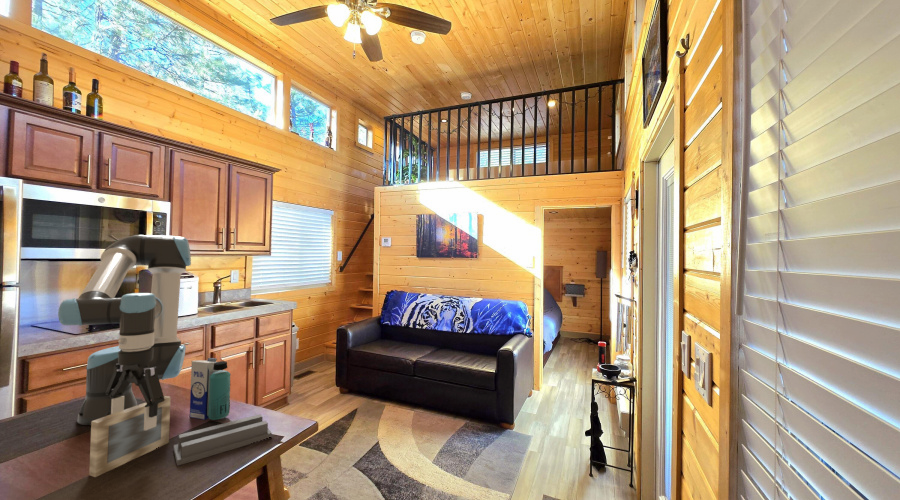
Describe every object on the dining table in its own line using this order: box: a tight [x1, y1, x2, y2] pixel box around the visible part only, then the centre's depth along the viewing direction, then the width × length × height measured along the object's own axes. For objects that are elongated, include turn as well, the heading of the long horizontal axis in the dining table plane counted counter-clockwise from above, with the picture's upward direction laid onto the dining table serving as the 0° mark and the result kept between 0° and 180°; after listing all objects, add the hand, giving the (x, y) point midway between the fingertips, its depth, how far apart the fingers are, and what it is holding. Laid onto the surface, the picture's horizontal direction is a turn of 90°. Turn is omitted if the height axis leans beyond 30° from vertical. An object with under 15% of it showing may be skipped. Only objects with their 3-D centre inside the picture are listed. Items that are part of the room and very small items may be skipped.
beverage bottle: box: [208, 360, 232, 420], centre depth 125 cm, size 6×7×20 cm
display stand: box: [173, 413, 272, 467], centre depth 110 cm, size 24×10×4 cm, turn 132°
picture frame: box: [88, 395, 171, 478], centre depth 101 cm, size 18×3×14 cm, turn 162°
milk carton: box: [189, 357, 221, 421], centre depth 128 cm, size 7×7×20 cm
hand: (133, 424), depth 101 cm, fingers open, 13 cm apart
